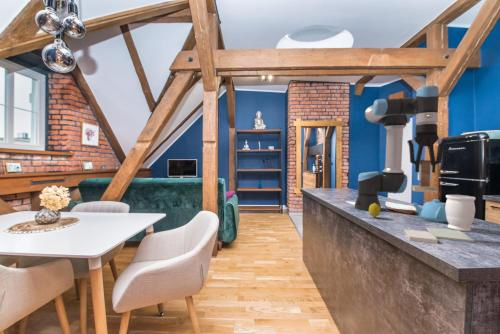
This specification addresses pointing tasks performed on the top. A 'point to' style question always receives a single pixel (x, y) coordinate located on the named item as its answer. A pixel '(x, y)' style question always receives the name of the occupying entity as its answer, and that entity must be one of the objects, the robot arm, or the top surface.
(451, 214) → the jar
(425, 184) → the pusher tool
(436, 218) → the teapot
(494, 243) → the top surface
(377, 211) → the lemon
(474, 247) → the top surface
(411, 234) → the tile
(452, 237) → the tool mat
